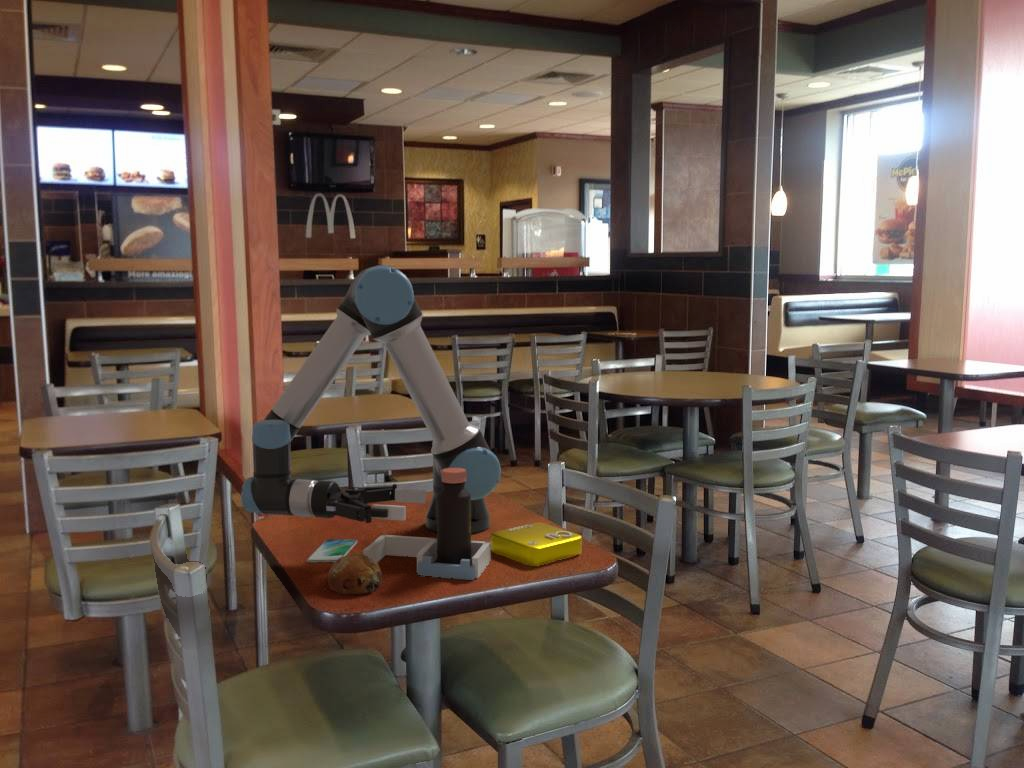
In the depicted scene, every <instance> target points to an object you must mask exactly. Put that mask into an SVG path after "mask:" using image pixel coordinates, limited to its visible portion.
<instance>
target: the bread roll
mask: <svg viewBox="0 0 1024 768" xmlns="http://www.w3.org/2000/svg"><path fill="white" fill-rule="evenodd" d="M382 580H383V573H382V570H381V568H380V565H379V563H378V562H376V561H375V560H374V559H373V558H371V557H370V556H366V555H364V554H363V553H352V554H347V555H346V556H344V557H341V558H339V559H338V560H337V561H336V562H335V563H332V565H331V568H330V569H329V570H328V574H327V583H328V584H327V585H328V587H329V588H330V590H331V589H332V591H333V590H334V592H335V591H336V592H335V593H337V592H338V594H341V595H347V594H350V595H349V596H355V595H354V594H359V595H363V593H364V594H369V593H372V591H373V592H375V591H377V589H378V588H379V587H380V586H381V583H382ZM374 590H375V591H374ZM368 592H369V593H368ZM351 594H353V595H351Z"/></svg>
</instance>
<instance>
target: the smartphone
mask: <svg viewBox="0 0 1024 768" xmlns="http://www.w3.org/2000/svg"><path fill="white" fill-rule="evenodd" d="M357 544H358V540H357V539H345V538H344V539H343V538H342V539H339V538H337V539H336V538H335V539H333V538H332V539H331V538H329V539H325V540H324V541H323V542H322V544H320V545H319V546H318V547H317V549H315V550H314V551H313V552H312V553H311V554H310V556H309V557H308V558H307V559H306V563H317V562H321V563H325V562H333V563H332V564H334V563H335V562H336V561H337V560H338V559H339V558H341V557H344V556H347V555H349V553H350V552H351V551H352V550H353V549H354V547H355V546H356V545H357ZM350 550H351V551H350Z"/></svg>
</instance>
